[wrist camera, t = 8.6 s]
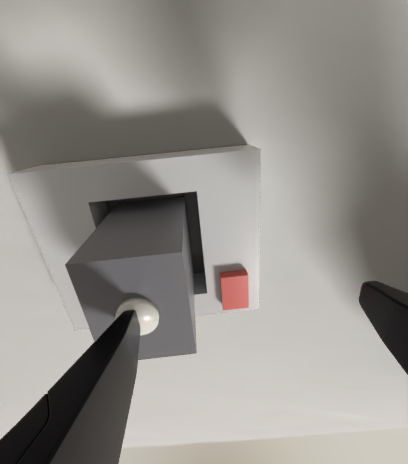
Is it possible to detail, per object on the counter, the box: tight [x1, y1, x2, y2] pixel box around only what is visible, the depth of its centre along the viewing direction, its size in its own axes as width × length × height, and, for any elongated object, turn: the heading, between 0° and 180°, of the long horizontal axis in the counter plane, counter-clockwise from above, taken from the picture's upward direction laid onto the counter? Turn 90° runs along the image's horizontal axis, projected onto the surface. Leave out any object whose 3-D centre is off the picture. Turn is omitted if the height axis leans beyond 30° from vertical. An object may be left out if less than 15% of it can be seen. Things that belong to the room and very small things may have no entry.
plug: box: [65, 196, 196, 360], centre depth 12 cm, size 4×5×7 cm
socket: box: [8, 145, 260, 330], centre depth 14 cm, size 12×10×3 cm
